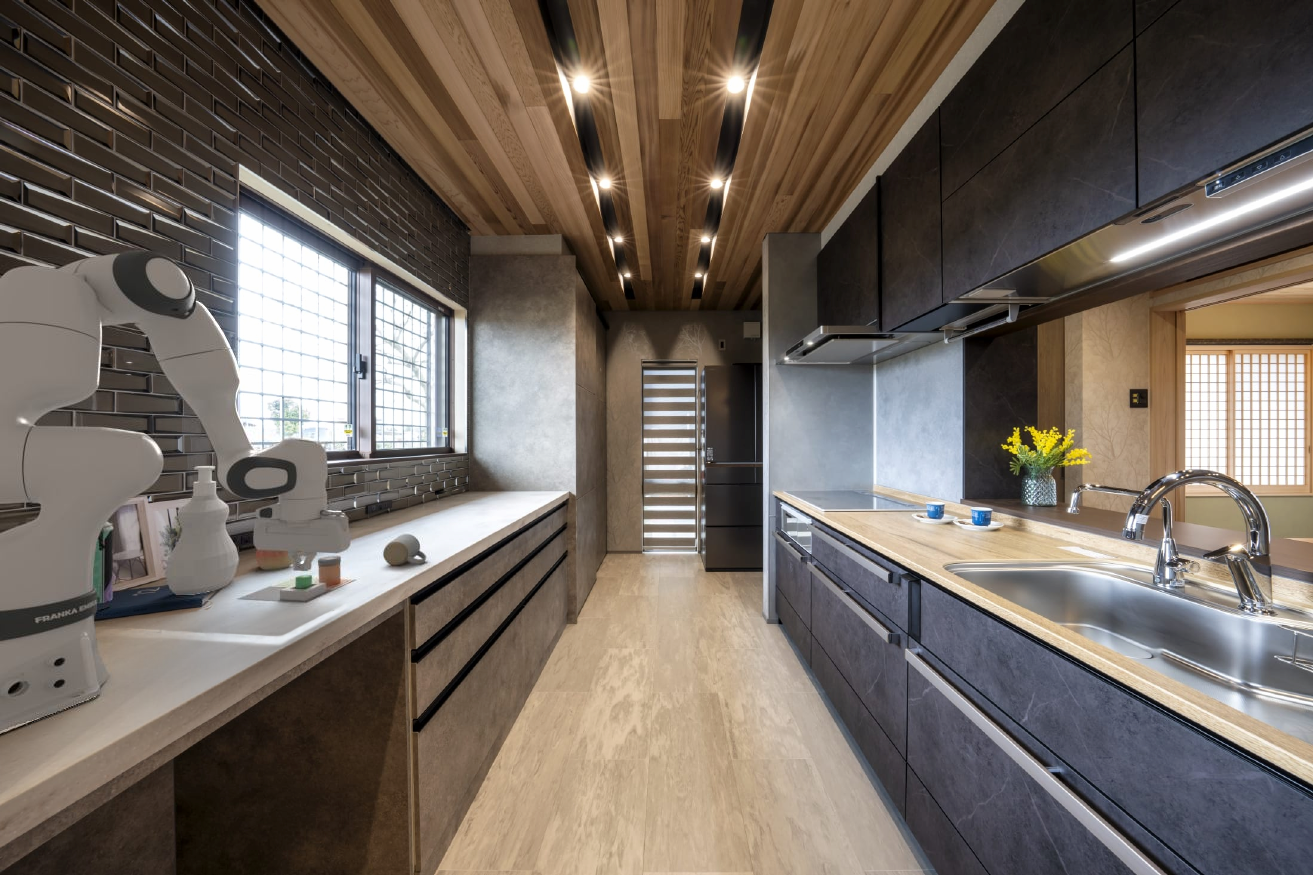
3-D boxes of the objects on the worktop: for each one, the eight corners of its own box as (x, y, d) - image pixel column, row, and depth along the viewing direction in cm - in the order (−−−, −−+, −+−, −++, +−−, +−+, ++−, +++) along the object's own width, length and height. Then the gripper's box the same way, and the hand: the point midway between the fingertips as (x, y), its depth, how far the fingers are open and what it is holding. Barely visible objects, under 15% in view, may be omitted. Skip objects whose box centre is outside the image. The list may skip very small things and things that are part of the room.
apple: (255, 577, 125) (255, 546, 124) (255, 568, 131) (256, 539, 131) (297, 571, 130) (297, 542, 130) (295, 563, 137) (296, 535, 137)
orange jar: (330, 586, 115) (330, 561, 115) (313, 585, 116) (313, 560, 115) (345, 580, 120) (345, 556, 119) (328, 579, 120) (328, 555, 120)
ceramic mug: (380, 566, 137) (381, 539, 137) (393, 558, 145) (394, 533, 145) (419, 567, 138) (420, 540, 138) (430, 559, 146) (431, 534, 146)
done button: (304, 589, 108) (304, 579, 108) (291, 589, 108) (292, 578, 108) (315, 585, 111) (315, 575, 111) (302, 584, 111) (302, 574, 111)
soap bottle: (215, 602, 107) (216, 469, 106) (147, 607, 103) (149, 469, 102) (250, 579, 123) (252, 463, 122) (193, 582, 119) (194, 463, 118)
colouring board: (306, 607, 105) (306, 593, 105) (236, 604, 106) (236, 589, 106) (356, 584, 121) (356, 571, 121) (295, 581, 122) (295, 568, 122)
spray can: (120, 604, 104) (120, 512, 104) (87, 614, 99) (88, 516, 98) (97, 603, 105) (98, 510, 104) (64, 612, 99) (65, 515, 99)
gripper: (357, 509, 112) (356, 568, 112) (271, 505, 113) (271, 564, 113) (338, 514, 106) (337, 576, 106) (247, 510, 107) (247, 572, 107)
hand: (302, 570), depth 110 cm, fingers closed
